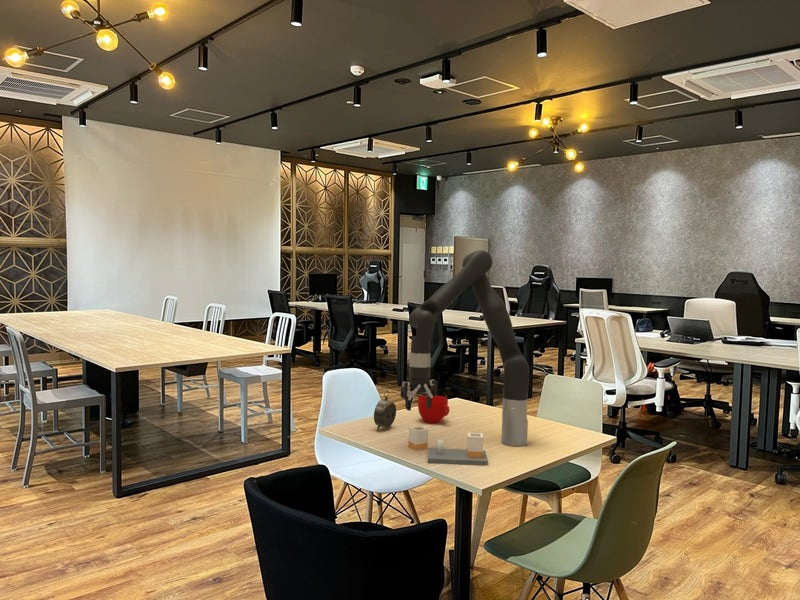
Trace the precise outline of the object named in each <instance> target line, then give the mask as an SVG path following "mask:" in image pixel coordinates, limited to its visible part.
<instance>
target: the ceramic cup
mask: <svg viewBox="0 0 800 600" xmlns="http://www.w3.org/2000/svg"><path fill="white" fill-rule="evenodd" d="M426 397H427V396H426V395H422V396H421V395H420V396H418V397H417V409H418V413H419V415H420V418H422V420H423V421H424V422H425V423H426V422H427V424H433V423H434V424H440V422H441V421H442V420H443V419H444V418H445V417H447V416H448V415H449V413H450V407H449V405H448V404H449V403H448V402H449V399H448V398H447V397H445V396H440V395H437V396H434V397H433V398H432V406H431V408H426Z"/></svg>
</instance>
